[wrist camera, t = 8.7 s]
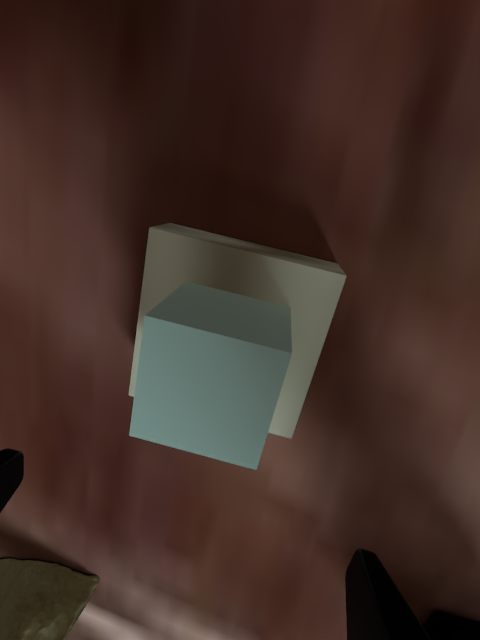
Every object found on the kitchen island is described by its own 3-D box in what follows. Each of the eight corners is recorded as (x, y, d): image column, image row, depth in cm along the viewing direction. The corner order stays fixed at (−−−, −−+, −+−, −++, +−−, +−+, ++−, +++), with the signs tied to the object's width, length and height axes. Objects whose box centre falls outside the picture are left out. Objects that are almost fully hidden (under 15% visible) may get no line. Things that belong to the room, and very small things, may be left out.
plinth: (337, 263, 18) (346, 275, 15) (290, 406, 21) (291, 438, 18) (170, 222, 18) (149, 227, 16) (149, 369, 22) (128, 395, 19)
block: (290, 307, 16) (292, 353, 11) (264, 397, 18) (256, 470, 13) (185, 281, 16) (144, 315, 11) (170, 373, 18) (129, 435, 13)
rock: (-71, 602, 29) (16, 682, 29) (-164, 679, 21) (-43, 791, 21) (34, 492, 33) (113, 564, 32) (-10, 522, 24) (95, 619, 24)
